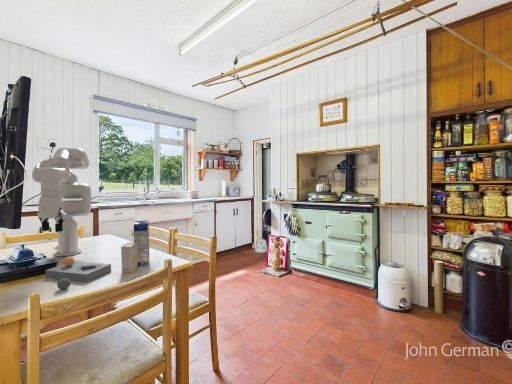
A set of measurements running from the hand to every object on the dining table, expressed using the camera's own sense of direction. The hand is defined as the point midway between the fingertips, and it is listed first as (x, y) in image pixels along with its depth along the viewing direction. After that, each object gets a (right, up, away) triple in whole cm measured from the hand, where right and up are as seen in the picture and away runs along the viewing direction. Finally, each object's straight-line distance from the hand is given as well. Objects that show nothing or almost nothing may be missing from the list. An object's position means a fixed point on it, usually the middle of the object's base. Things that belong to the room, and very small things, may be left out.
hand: (52, 230), depth 125 cm
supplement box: (+35, -20, +3) cm, 41 cm away
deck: (+15, -20, -2) cm, 25 cm away
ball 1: (+9, -14, -1) cm, 17 cm away
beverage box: (+37, -20, +14) cm, 44 cm away
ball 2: (+19, -19, -19) cm, 33 cm away
